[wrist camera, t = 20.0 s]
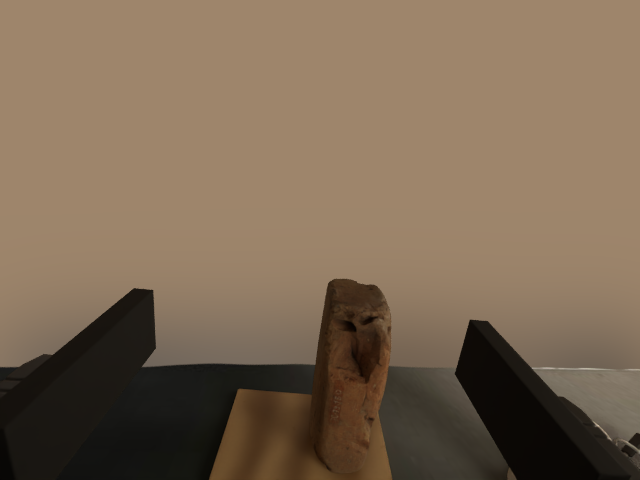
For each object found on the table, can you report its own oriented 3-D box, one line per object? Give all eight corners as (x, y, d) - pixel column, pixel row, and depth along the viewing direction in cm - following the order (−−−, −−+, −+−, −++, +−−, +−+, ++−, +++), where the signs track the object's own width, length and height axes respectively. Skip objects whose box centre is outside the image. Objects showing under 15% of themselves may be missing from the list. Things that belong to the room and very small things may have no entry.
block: (309, 402, 46) (325, 271, 41) (362, 407, 47) (385, 277, 41) (305, 477, 36) (325, 316, 30) (373, 484, 36) (405, 324, 30)
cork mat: (206, 490, 34) (206, 486, 34) (238, 391, 48) (238, 388, 48) (395, 504, 35) (397, 499, 35) (374, 403, 48) (375, 399, 48)
